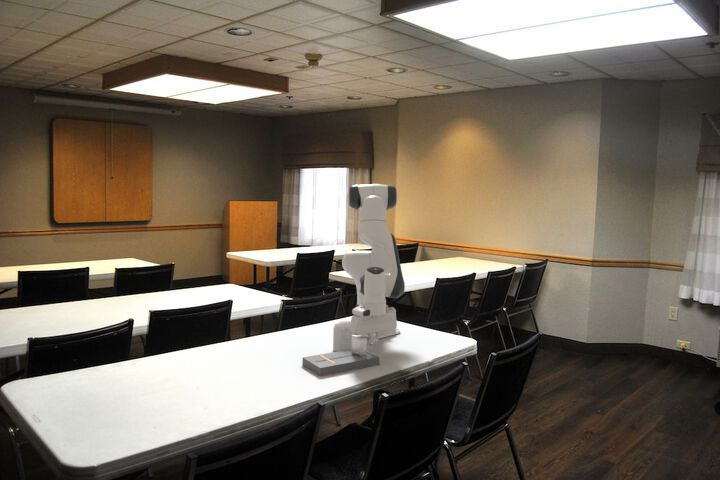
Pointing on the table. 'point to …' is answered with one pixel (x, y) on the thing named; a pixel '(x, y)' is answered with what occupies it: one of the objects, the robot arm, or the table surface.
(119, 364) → the table surface
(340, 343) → the photo printer
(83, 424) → the table surface
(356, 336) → the fader
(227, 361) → the table surface
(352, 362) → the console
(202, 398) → the table surface
